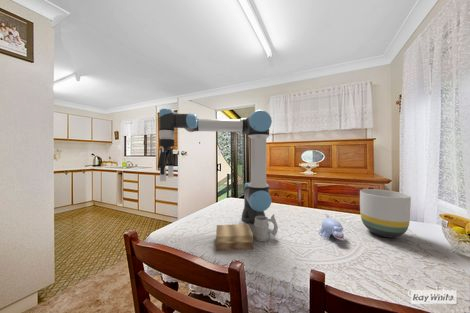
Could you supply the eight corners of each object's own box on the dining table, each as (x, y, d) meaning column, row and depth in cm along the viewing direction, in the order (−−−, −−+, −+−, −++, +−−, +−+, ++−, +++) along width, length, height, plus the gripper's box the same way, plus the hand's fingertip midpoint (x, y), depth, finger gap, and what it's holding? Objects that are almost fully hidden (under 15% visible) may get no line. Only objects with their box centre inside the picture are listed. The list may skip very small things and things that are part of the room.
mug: (253, 233, 90) (253, 210, 89) (276, 235, 88) (277, 211, 88) (253, 241, 82) (253, 215, 82) (278, 242, 80) (278, 217, 80)
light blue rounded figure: (327, 245, 78) (327, 224, 78) (315, 230, 93) (316, 213, 93) (352, 246, 77) (353, 225, 77) (337, 231, 92) (337, 214, 92)
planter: (399, 230, 93) (400, 191, 93) (419, 248, 76) (419, 199, 75) (356, 224, 101) (356, 188, 101) (364, 239, 84) (365, 195, 83)
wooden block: (248, 235, 87) (248, 223, 87) (253, 248, 75) (253, 235, 75) (216, 237, 86) (216, 225, 86) (216, 250, 74) (216, 236, 74)
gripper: (166, 140, 103) (167, 176, 104) (150, 136, 79) (150, 183, 79) (179, 140, 104) (179, 175, 104) (167, 136, 79) (167, 182, 80)
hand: (167, 179), depth 92 cm, fingers open, 13 cm apart
